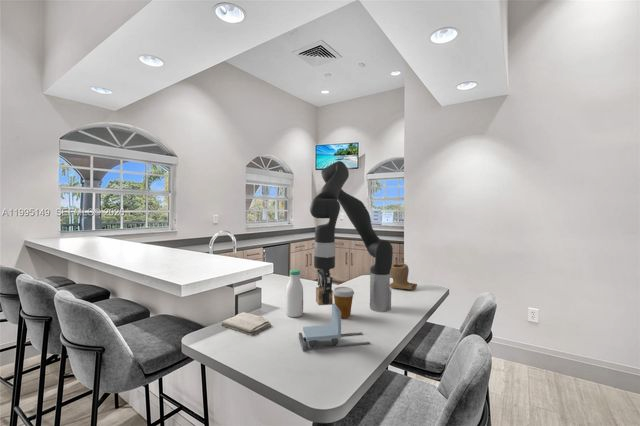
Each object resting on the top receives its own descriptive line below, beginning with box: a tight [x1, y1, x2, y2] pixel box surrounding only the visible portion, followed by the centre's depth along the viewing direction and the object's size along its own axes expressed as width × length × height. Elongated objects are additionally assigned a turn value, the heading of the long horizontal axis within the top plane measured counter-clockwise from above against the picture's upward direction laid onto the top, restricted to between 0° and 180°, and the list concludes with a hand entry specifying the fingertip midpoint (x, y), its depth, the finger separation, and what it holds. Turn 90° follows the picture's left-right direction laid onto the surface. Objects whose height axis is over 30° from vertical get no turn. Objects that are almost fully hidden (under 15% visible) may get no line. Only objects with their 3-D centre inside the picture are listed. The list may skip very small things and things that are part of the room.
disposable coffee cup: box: [333, 286, 355, 320], centre depth 133 cm, size 10×10×12 cm
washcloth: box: [220, 311, 272, 336], centre depth 122 cm, size 12×18×3 cm, turn 59°
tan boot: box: [390, 262, 418, 291], centre depth 177 cm, size 15×12×15 cm
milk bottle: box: [285, 269, 304, 318], centre depth 134 cm, size 8×8×20 cm
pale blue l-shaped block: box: [302, 302, 342, 347], centre depth 108 cm, size 12×9×12 cm
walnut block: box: [315, 286, 334, 306], centre depth 108 cm, size 5×5×5 cm
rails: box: [298, 331, 371, 352], centre depth 109 cm, size 24×10×2 cm, turn 102°
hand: (324, 301), depth 108 cm, fingers closed on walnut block, 5 cm apart
